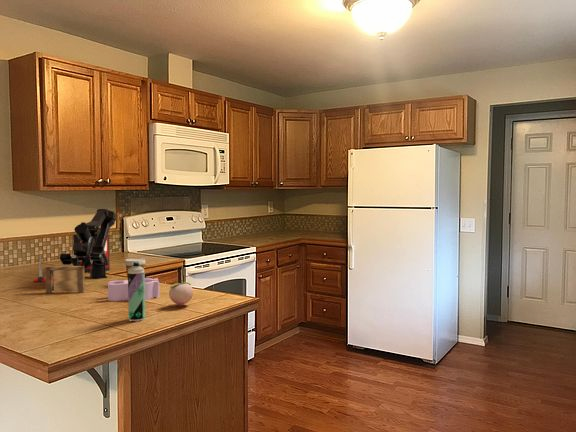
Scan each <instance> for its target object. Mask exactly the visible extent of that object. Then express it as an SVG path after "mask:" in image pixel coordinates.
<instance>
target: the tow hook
mask: <svg viewBox="0 0 576 432" xmlns="http://www.w3.org/2000/svg"><path fill="white" fill-rule="evenodd" d="M42 257H43V255H39V261H38V263H39V264H38V265H39V266H38V267H39V268H38V276H37V278H34V279H33V282H35V283H45V276H43V259H42ZM52 282H54V276H52Z"/></svg>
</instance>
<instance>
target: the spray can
mask: <svg viewBox="0 0 576 432" xmlns="http://www.w3.org/2000/svg"><path fill="white" fill-rule="evenodd" d="M145 272H146V271H145V267H144V268H142V267H140V265H139V262H134V265H133V266H132V267H131V268H130V269H128V278H127V280H128V300H127V303H128V321H129V320H131V321H130V322H132V321H138V322H141V321H140V320H143V321H145V320H146V300H145V278H146V276H145V274H146V273H145ZM144 319H145V320H144Z"/></svg>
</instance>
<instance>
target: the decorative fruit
mask: <svg viewBox="0 0 576 432" xmlns="http://www.w3.org/2000/svg"><path fill="white" fill-rule="evenodd" d="M168 296H169V299H170V300H171V301H172V303H174V304H176V305H178V306H180V305H182V306H183V305H185V304H187V303H188V302H190V301H191V300H192V298H193V296H194V288H193V287H192V284H191V283H190V282H187V281H182V280H180V282H179V283H177V282H176V283H174V284H172V285H170V289H169V291H168Z"/></svg>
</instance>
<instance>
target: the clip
mask: <svg viewBox="0 0 576 432" xmlns="http://www.w3.org/2000/svg"><path fill="white" fill-rule="evenodd" d="M154 297H159V298H160V281H159V278H150V277H149V278H147V277H145V301H147V300H146V299H149V300H152V299H151V298H153V299H155V298H154ZM107 300H108V301H109V302H121V300H122V301H128V279H127V280H126V279H124V280H111V281H108V282H107Z"/></svg>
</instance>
